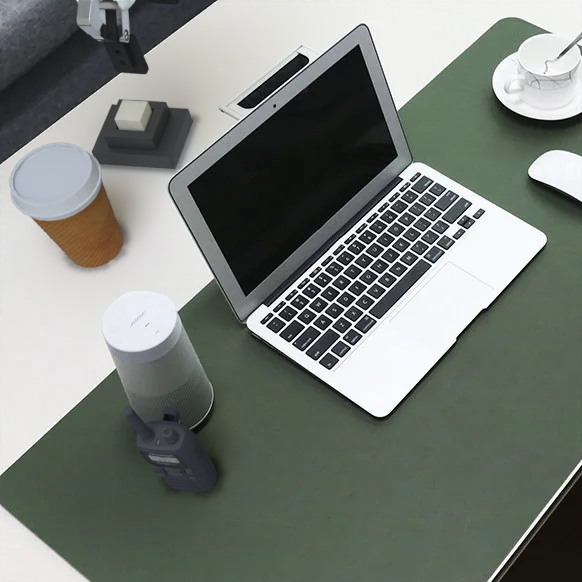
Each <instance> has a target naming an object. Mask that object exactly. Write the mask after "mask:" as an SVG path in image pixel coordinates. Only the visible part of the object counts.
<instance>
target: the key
mask: <svg viewBox="0 0 582 582" xmlns="http://www.w3.org/2000/svg"><path fill="white" fill-rule="evenodd" d="M131 100H132V99H125V100H122V103H121V105H120V107H119V110H118V112H117V114H116V117H115V122H116V124H117V126H118V128H119V130H133V131H145V130H146V128H147V125H148V123H149V120H150V117H151V115H152V110H151V108H150V106H149V103H148V102H147V101H148V100H142V101H131Z"/></svg>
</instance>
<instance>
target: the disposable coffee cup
mask: <svg viewBox="0 0 582 582" xmlns="http://www.w3.org/2000/svg"><path fill="white" fill-rule="evenodd" d="M8 183H9V191H10V199H11V201H12V203H13V205H14V206H15V208H16V209H17V210H18V211H20V213H22V214H23V215H26V216H28V217H30V218H31V219H32V220H33V222H35V224H36V225H38V227H39V228H40V229H41V230H42V231H43V232H44V233H45V234H46V235H47V236H48V237H49V238H50V239H51V240H52V241H53V242H54V243H55V245H56V246H58V247H59V248H60V249H61V251H62V252H63V253H64V254H65V255H66V256H67V257H68V258H69V259H70V260H71V261H72V262H73V263H74V264H75V265H77V266H79V267H81V268H87V269H93V268H98V267H102V266H104V265H107V264H109V263H110V262H111V261H113V260H114V259H115V258H116V257H117V256H118V255H119V254H120V252H121V250H122V248H123V245H124V238H123V237H124V236H123V234H122V232H121V228H120V226H119V223H118V220H117V218H116V215H115V212H114V210H113V209H114V208H113V207H112V204H111V201H110V199H109V195H108V193H107V191H106V187H105V185H104V182H103V173H102V168H101V164H99V162H98V161H97V159H96V158H95V157H94V156H93V154H92V153H91V152H89V151H87V150H86V149H84V148H83V147H82V146H80V145H78V144H76V143H72V142H64V141H59V142H57V141H56V142H50V143H47V144H46V143H45V144H42V145H40V146H38V147H36V148H33V149H32V150H30V151H29V152H27V153H25V154H24V155H23V156H22V157H21V158H19V160H18V161H17V162H16V163H15V165H14V166H13V167H12V170H11V173H10V174H9V180H8Z"/></svg>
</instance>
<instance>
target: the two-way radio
mask: <svg viewBox="0 0 582 582" xmlns="http://www.w3.org/2000/svg"><path fill="white" fill-rule="evenodd" d="M122 413H123V415H124V416H125V417H126V419H127V420H128V421H129V423H130V425H131V426H132V427H133V429H134V430H135V431H136V433H137V434H136V437H135V447H136V450H137V451H138V453H139V454H140V456H141V457H142V458H143V459H144V460H145V461H146V463H148V465H149V466H150V467H151V469H153V471H154V472H155V473H156V474H157V476H158V477H161V478H162V479H163V481H164V482H165V483H166V484H167V485H168V486H169V487H170V488H171V489H174V490H177V491H184V492H194V493H208V492H209V491H211V490H212V489H213V488H214V487H215V486H216V483H217V482H218V476H219V475H218V472H217V470H216V466H215V464H214V462H213V461H212V459H211V456H210V455H209V454H208V452H207V450H206V448H205V446H204V445H203V443H202V442H201V440H200V439H199V438H198V436H197V435H196V434H195V433H194V431H193V430H192V429H190V428H189V427H188V426H185V425H184V424H183V423H182V420H181V419H182V418H181V415H180V412H179V411H178V410H177V408H174V407H164V408H163V410H162V414H161V415H162V419H158V420H151V421H148V422H145V421H144V420H143V419H142V418H141V417H140V415H139V414H138V413H137V412H136V411H135V410H134V409H133V407H131V406H126V407H124V408H123V411H122Z"/></svg>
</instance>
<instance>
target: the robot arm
mask: <svg viewBox="0 0 582 582" xmlns="http://www.w3.org/2000/svg"><path fill="white" fill-rule="evenodd" d="M75 1H76V3H77V10H76V24H77V26H78V27H79V28H80V29H81V30H82V31H83V32H85V33H86V34H87V36H88V37H89V38H90V39H92V40H96V41H98V42H102V45H103V47H104V49H105V51H106V53H107V55H108V59H110V62H111V65H112V67H113V68H114V70H115V71H116V72H117V73H119V74H132V75H134V74H135V75H147V74H148V72H149V70H150V67H149V64H148V62H147V60H146V58H145V57H146V56H145V55H144V53H143V50H142V47H141V45H140V43H139V41H138V39H137V36H136V34H134V33H131V32H130V17H129V9H130V8H131V7H132V6H133V5H134V4H135V2H136V0H112V1H107V0H106V1H103V0H75ZM147 1H148V2H149V4H158V5H159V4H160V5H174V6H175V5H178V4H179V3H180V0H147ZM106 10H108V11H109V10H111V11H115V13H116V25H112V24H107V20H106V19H107V18H106Z"/></svg>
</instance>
